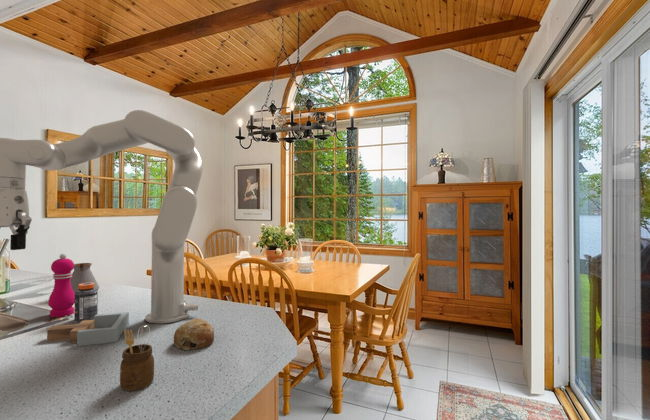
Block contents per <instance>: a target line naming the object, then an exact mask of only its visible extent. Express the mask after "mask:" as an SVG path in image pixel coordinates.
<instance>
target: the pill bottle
mask: <svg viewBox="0 0 650 420" xmlns="http://www.w3.org/2000/svg"><path fill="white" fill-rule="evenodd" d="M78 289H79V290H78V291H77V292H76V293H75V303H74V306H73V307H74V313H73V314H74V317H73V319H74V322H75V323H76V322H78V323H80V322H81V321H83V320H94V317H95V315H98V310H99V309H98V303H99V302H98V301H99V300H98V299H99V298H98V297H99V296H98V293H99V292H98V291H97V290H96V289H94V283H82V284H79V285H78Z"/></svg>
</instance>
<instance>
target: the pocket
mask: <svg viewBox="0 0 650 420" xmlns="http://www.w3.org/2000/svg"><path fill="white" fill-rule="evenodd" d="M129 315H130V312H129V311H125V312H114V313H111V312H110V313H102V314H98V313H97V315H95V317H94V320H95V329H88V330H79V331H78V332H77V342H76V346H77V347H81V346H90V345H91V346H92V345H100V344H101V345H102V344H107V343H108V344H109V343H116V342H117V341H118V339H119V338H120V337H121V335H122V334H123V333H124V330H126V328H127V326H128V325H129V321H130V316H129Z"/></svg>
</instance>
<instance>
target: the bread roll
mask: <svg viewBox="0 0 650 420" xmlns="http://www.w3.org/2000/svg"><path fill="white" fill-rule="evenodd" d="M214 340H215V329H214V327H213V325H212V324H211V323H209V322H208V321H207V320H204V319H202V318H193V319H191V320H189V321H187V322H185V323H183V324H180V325H179V327H177V329H176V330H175V331H174V334H173V344H174V346H175V347H177V348H178V349H180V350H183V351H191V350H198V349H204V348H207V347H209V346H211V345H212V344H213V343H214Z"/></svg>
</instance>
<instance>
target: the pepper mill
mask: <svg viewBox="0 0 650 420" xmlns="http://www.w3.org/2000/svg"><path fill="white" fill-rule="evenodd" d="M74 264H75V263H74V261H73V260H72V259H70V258H67V255H66V254H65V253H61V254H60V255H59V258H57V259H55V260H54V261H53V262H52V263H51V264H50V270H51V272H52V273H53V274H52V279H53V280H54V286H53V289H52V291H51V293H50V295H49V298H48V302H47V306H49V307H50V308H51V309H50V311H49V316H50V317H51V318H62V317H67V316H66V315H68V316H71V315H73V314H74V306H75V293H74V291H73V289H72V287H71V282H70V280H71V277H72V273H73V272H72V271H74ZM73 305H74V306H73Z"/></svg>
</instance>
